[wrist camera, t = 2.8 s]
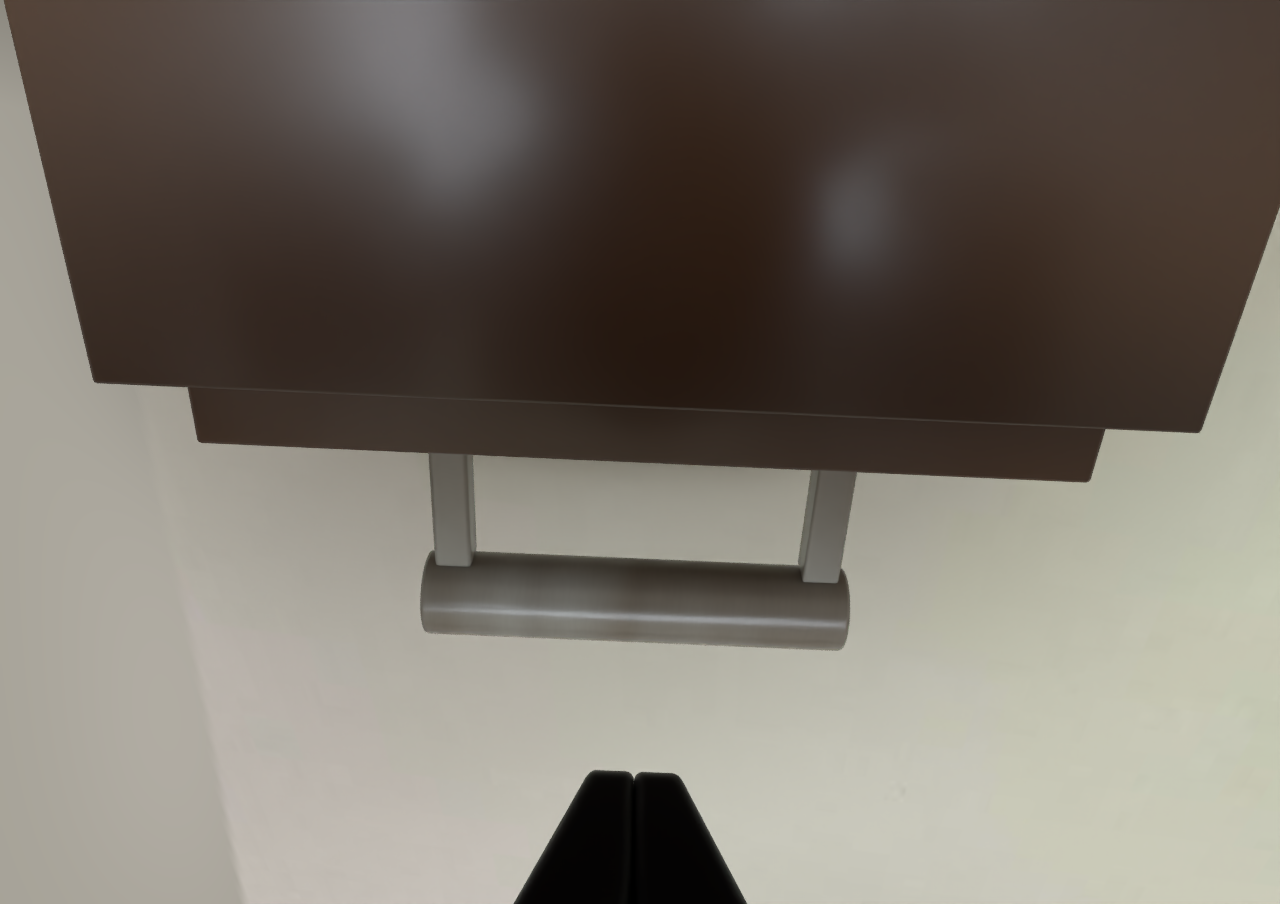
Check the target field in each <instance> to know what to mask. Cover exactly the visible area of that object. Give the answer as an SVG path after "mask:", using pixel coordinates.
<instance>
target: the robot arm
mask: <svg viewBox="0 0 1280 904" xmlns="http://www.w3.org/2000/svg"><path fill="white" fill-rule="evenodd" d="M514 904H747V903H746V901H745V899H744V897H743V895H742V893H741V891H740V889H739V888H738V886H737V884H736V882H735V880H734V878H733V876H732V874H731V872H730V870H729V869H728V867H727V865H726V863H725V861H724V859H723V857H722V855H721V853H720V851H719V850H718V848H717V846H716V844H715V842H714V840H713V838H712V836H711V834H710V832H709V831H708V829H707V827H706V825H705V823H704V821H703V819H702V817H701V815H700V813H699V812H698V810H697V808H696V806H695V804H694V802H693V800H692V798H691V796H690V794H689V793H688V791H687V789H686V787H685V785H684V783H683V781H682V780H681V779H680V777H679V776H677V775H676V774H673V773H653V772H640V773H638V774H637V775H636V777H635V779H633V776H632V774H631V773H629V772H626V771H604V770H594V771H592V772H590V773H589V774H588V775H587V777H586V778H585V780H584V781H583V783H582V785H581V787H580V788H579V790H578V792H577V794H576V795H575V797H574V799H573V801H572V802H571V804H570V806H569V808H568V810H567V811H566V813H565V815H564V817H563V818H562V820H561V822H560V824H559V825H558V827H557V829H556V831H555V832H554V834H553V836H552V838H551V839H550V841H549V843H548V845H547V846H546V848H545V850H544V852H543V853H542V855H541V857H540V859H539V860H538V862H537V864H536V866H535V867H534V869H533V871H532V873H531V874H530V876H529V878H528V880H527V881H526V883H525V885H524V887H523V888H522V890H521V892H520V894H519V895H518V897H517V899H516V901H515V902H514Z"/></svg>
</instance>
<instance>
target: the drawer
mask: <svg viewBox="0 0 1280 904" xmlns="http://www.w3.org/2000/svg"><path fill="white" fill-rule="evenodd" d="M188 392H189V397H190V402H191V408H192V413H193V418H194V424H195V429H196V434H197V440H198V441H199V442H201V443H216V444H239V445H261V446H283V447H306V448H328V449H350V450H373V451H395V452H417V453H428V455H429V470H430V486H431V502H432V517H433V533H434V549H435V550H433V551H431V552H430V553H429V555H428V557H427V560H426V563H425V566H424V571H423V577H422V584H421V598H420V610H421V620H422V625H423V628H424V630H425V632H427V633H434V634H457V635H481V636H504V637H528V638H551V639H574V640H598V641H621V642H645V643H668V644H691V645H715V646H738V647H761V648H785V649H808V650H832V651H838V650H841V649H842V648H843V647H844V645H845V642H846V639H847V635H848V630H849V622H850V593H849V585H848V581H847V577H846V574H845V572H844V570H843V569H841V563H842V557H843V551H844V545H845V540H846V534H847V528H848V522H849V516H850V510H851V504H852V498H853V493H854V487H855V481H856V475H857V472H863V473H886V474H908V475H930V476H953V477H975V478H997V479H1020V480H1042V481H1064V482H1089V481H1090V479H1091V476H1092V472H1093V469H1094V466H1095V462H1096V459H1097V456H1098V452H1099V449H1100V446H1101V442H1102V439H1103V436H1104V432H1105V429H1096V428H1074V427H1052V426H1030V425H1008V424H986V423H964V422H942V421H920V420H898V419H876V418H854V417H832V416H810V415H788V414H766V413H744V412H722V411H700V410H678V409H656V408H634V407H612V406H590V405H568V404H546V403H524V402H502V401H480V400H458V399H436V398H414V397H392V396H370V395H348V394H326V393H304V392H282V391H260V390H238V389H216V388H194V387H188ZM473 455H484V456H506V457H529V458H551V459H573V460H596V461H618V462H640V463H663V464H685V465H707V466H730V467H752V468H774V469H796V470H811V476H810V483H809V490H808V496H807V503H806V510H805V517H804V524H803V531H802V538H801V545H800V552H799V559H798V564H799V566H798V565H775V564H753V563H730V562H707V561H684V560H661V559H638V558H615V557H592V556H570V555H547V554H524V553H501V552H478V551H476V523H475V498H474V473H473Z"/></svg>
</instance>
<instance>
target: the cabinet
mask: <svg viewBox="0 0 1280 904" xmlns="http://www.w3.org/2000/svg"><path fill="white" fill-rule="evenodd" d="M4 4H5V8H6V12H7V16H8V20H9V25H10V29H11V33H12V38H13V42H14V46H15V50H16V55H17V59H18V63H19V67H20V71H21V76H22V80H23V84H24V88H25V93H26V97H27V101H28V105H29V110H30V114H31V118H32V122H33V127H34V131H35V135H36V139H37V143H38V148H39V152H40V156H41V161H42V165H43V169H44V173H45V177H46V182H47V186H48V190H49V194H50V198H51V203H52V207H53V211H54V215H55V220H56V223H57V228H58V232H59V237H60V241H61V245H62V250H63V254H64V258H65V262H66V266H67V271H68V275H69V279H70V283H71V288H72V292H73V296H74V301H75V305H76V309H77V313H78V318H79V322H80V326H81V330H82V335H83V339H84V343H85V347H86V351H87V356H88V360H89V364H90V368H91V373H92V377H93V380H94V382H96V383H107V384H128V385H129V384H130V385H150V386H172V387H194V388H216V389H238V390H260V391H282V392H304V393H326V394H348V395H370V396H392V397H414V398H436V399H458V400H480V401H502V402H524V403H546V404H568V405H590V406H612V407H634V408H656V409H678V410H700V411H722V412H744V413H766V414H788V415H810V416H832V417H854V418H876V419H898V420H920V421H942V422H964V423H986V424H1008V425H1030V426H1052V427H1074V428H1096V429H1118V430H1140V431H1162V432H1184V433H1199V432H1200V431H1201V430H1202V427H1203V424H1204V421H1205V418H1206V416H1207V413H1208V410H1209V407H1210V404H1211V401H1212V398H1213V396H1214V393H1215V390H1216V387H1217V384H1218V381H1219V378H1220V376H1221V373H1222V370H1223V367H1224V364H1225V361H1226V359H1227V356H1228V353H1229V350H1230V347H1231V344H1232V341H1233V339H1234V336H1235V333H1236V330H1237V327H1238V324H1239V321H1240V319H1241V316H1242V313H1243V310H1244V307H1245V304H1246V301H1247V299H1248V296H1249V293H1250V290H1251V287H1252V284H1253V281H1254V279H1255V276H1256V273H1257V270H1258V267H1259V264H1260V261H1261V259H1262V256H1263V253H1264V250H1265V247H1266V244H1267V242H1268V239H1269V236H1270V233H1271V230H1272V227H1273V224H1274V222H1275V219H1276V216H1277V213H1278V210H1279V207H1280V0H4Z"/></svg>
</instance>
